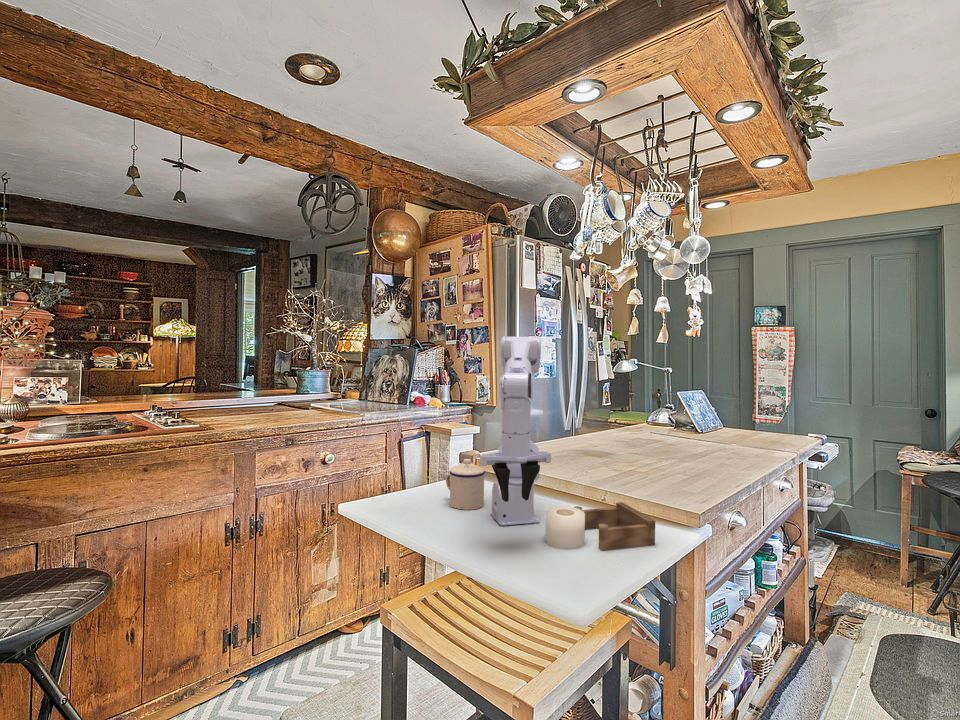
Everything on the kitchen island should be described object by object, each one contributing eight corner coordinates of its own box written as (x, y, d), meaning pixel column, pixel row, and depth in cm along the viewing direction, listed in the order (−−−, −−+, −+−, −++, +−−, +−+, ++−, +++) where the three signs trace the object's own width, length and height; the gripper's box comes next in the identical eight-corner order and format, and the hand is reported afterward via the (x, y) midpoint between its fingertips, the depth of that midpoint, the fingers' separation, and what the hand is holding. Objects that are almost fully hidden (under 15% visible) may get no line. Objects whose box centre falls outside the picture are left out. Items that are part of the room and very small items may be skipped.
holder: (601, 551, 96) (601, 526, 96) (572, 528, 108) (572, 505, 108) (655, 545, 99) (656, 521, 99) (621, 523, 112) (621, 501, 112)
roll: (555, 551, 96) (555, 520, 96) (539, 536, 104) (539, 507, 104) (591, 547, 98) (592, 517, 98) (573, 532, 106) (574, 504, 106)
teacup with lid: (492, 504, 124) (492, 459, 124) (467, 513, 118) (468, 465, 117) (458, 495, 132) (459, 452, 132) (433, 502, 126) (434, 457, 125)
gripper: (486, 436, 92) (485, 508, 92) (557, 434, 96) (556, 503, 96) (477, 430, 99) (476, 497, 99) (543, 428, 103) (542, 492, 103)
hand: (515, 499), depth 98 cm, fingers open, 4 cm apart
